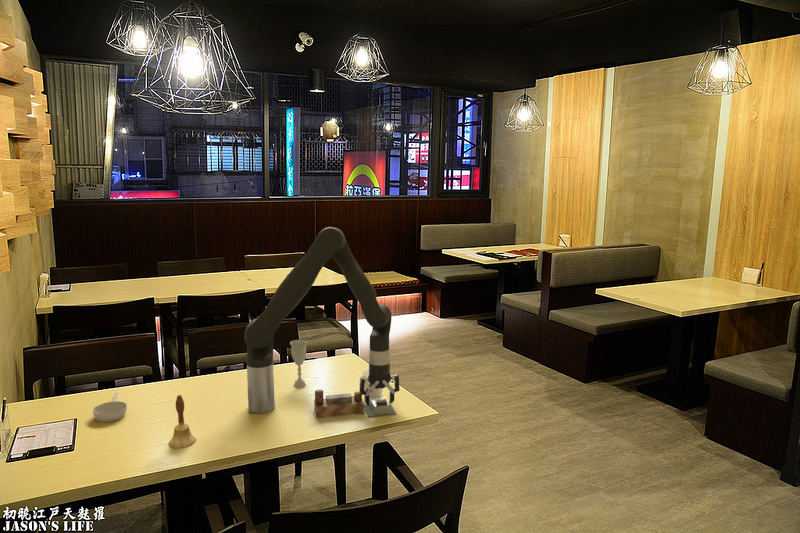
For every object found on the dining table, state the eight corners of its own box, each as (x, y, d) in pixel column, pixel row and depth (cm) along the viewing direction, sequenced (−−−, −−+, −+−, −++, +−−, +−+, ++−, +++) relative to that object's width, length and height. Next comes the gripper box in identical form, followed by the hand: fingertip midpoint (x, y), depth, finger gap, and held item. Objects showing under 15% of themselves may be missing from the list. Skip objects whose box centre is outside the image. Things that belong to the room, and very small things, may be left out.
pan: (90, 425, 198) (89, 414, 198) (101, 404, 215) (100, 394, 215) (124, 421, 201) (123, 411, 201) (132, 401, 218) (132, 391, 218)
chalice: (290, 383, 236) (288, 340, 232) (307, 381, 238) (305, 339, 234) (292, 389, 229) (291, 346, 226) (309, 387, 231) (308, 344, 228)
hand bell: (200, 442, 187) (197, 395, 184) (175, 451, 181) (171, 403, 178) (189, 433, 193) (186, 388, 190) (164, 441, 187) (160, 395, 184)
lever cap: (369, 404, 214) (369, 393, 214) (384, 402, 216) (384, 392, 215) (374, 414, 206) (374, 403, 205) (389, 413, 207) (389, 402, 206)
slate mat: (368, 417, 205) (368, 415, 205) (363, 405, 214) (363, 404, 214) (396, 414, 207) (396, 413, 207) (390, 403, 217) (390, 401, 217)
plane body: (316, 418, 204) (315, 395, 202) (314, 410, 211) (313, 387, 209) (364, 413, 208) (363, 391, 206) (360, 405, 215) (360, 383, 213)
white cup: (382, 402, 217) (382, 377, 216) (361, 402, 218) (361, 377, 216) (383, 394, 225) (383, 369, 223) (363, 393, 225) (363, 369, 224)
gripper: (396, 355, 213) (396, 397, 216) (358, 358, 209) (358, 401, 212) (401, 362, 205) (401, 405, 208) (361, 366, 202) (361, 409, 205)
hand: (379, 403), depth 210 cm, fingers open, 8 cm apart
